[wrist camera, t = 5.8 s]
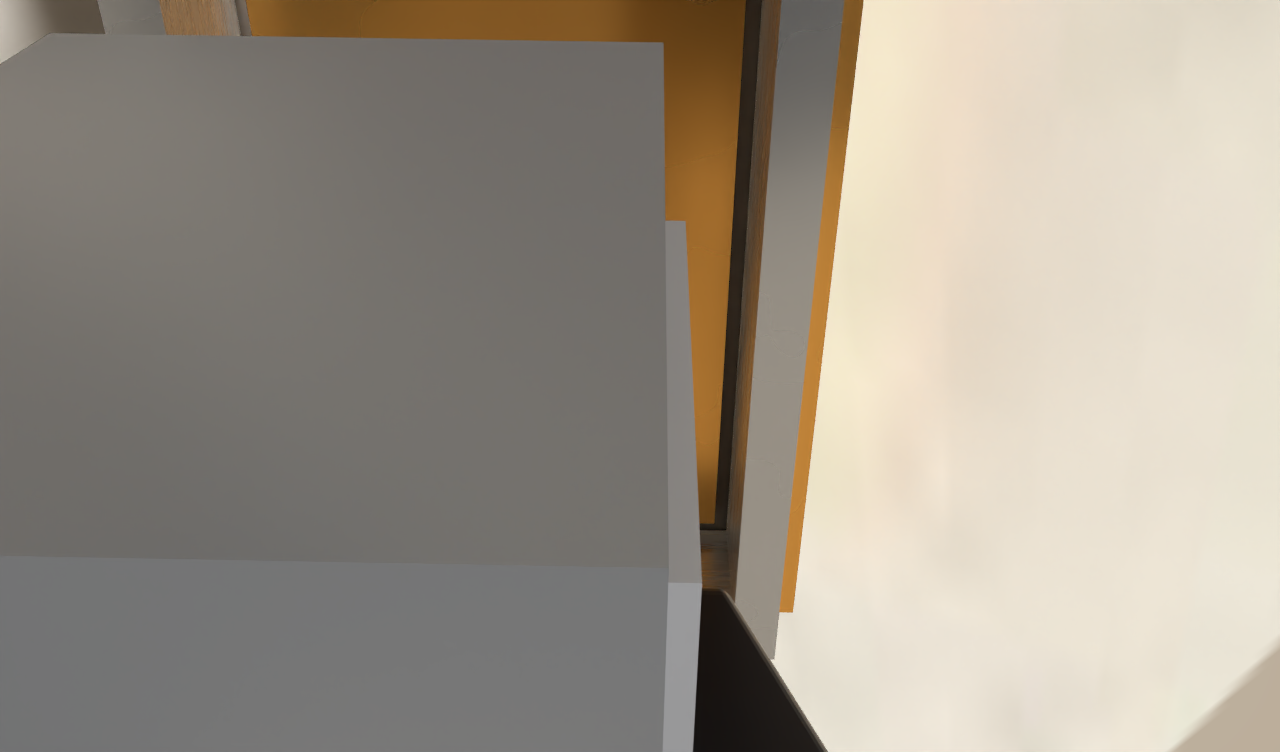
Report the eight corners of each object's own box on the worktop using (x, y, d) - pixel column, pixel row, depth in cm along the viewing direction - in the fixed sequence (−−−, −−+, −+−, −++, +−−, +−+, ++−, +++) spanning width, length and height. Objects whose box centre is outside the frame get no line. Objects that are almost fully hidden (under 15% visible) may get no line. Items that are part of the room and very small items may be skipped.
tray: (776, 570, 17) (787, 669, 16) (-127, 553, 18) (-210, 649, 16) (861, -284, 11) (897, -272, 10) (-531, -302, 11) (-740, -294, 10)
